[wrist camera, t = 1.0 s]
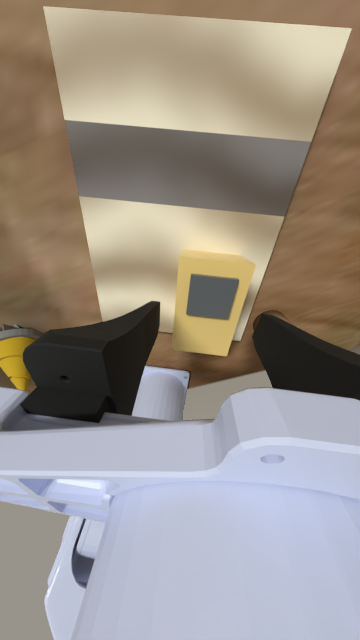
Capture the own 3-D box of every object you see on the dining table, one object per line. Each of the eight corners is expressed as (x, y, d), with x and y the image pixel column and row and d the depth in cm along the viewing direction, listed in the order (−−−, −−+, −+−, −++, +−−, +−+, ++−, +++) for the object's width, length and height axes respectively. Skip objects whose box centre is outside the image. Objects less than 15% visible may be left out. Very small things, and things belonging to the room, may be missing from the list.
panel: (237, 334, 19) (240, 341, 18) (108, 319, 20) (103, 324, 19) (333, 51, 9) (351, 28, 8) (60, 30, 9) (43, 6, 8)
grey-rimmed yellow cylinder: (28, 305, 20) (40, 377, 16) (48, 326, 24) (62, 387, 21) (-31, 320, 18) (-33, 407, 14) (3, 340, 22) (9, 411, 18)
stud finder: (220, 331, 18) (227, 359, 14) (176, 326, 18) (171, 352, 14) (240, 255, 14) (258, 265, 10) (182, 248, 14) (178, 257, 10)
